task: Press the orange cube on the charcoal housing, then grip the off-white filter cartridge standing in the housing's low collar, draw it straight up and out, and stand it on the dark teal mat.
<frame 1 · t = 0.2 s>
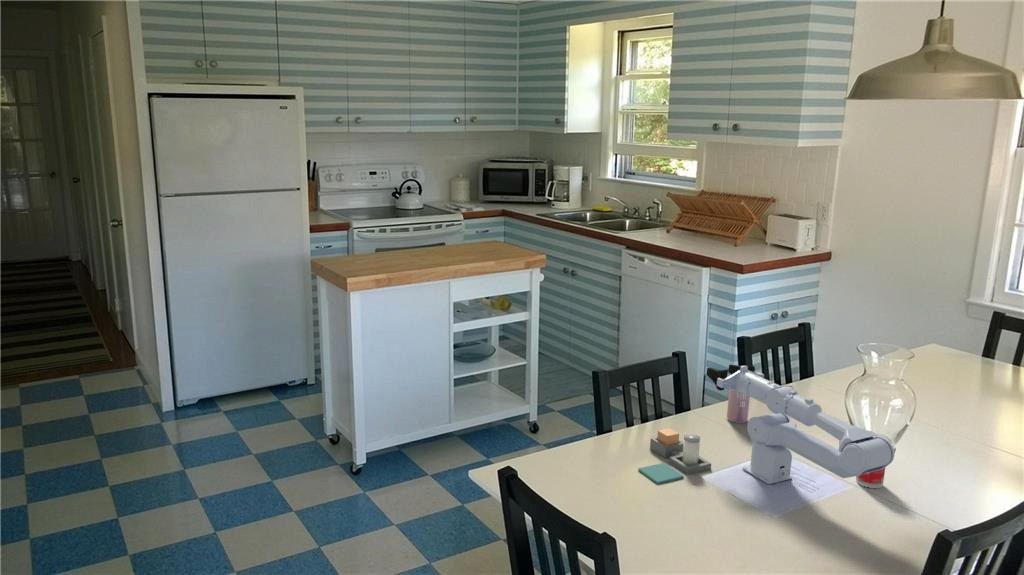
hand: (718, 369, 208), 21 cm above the table, tool horizontal, fingers open, 7 cm apart
beverage can: (736, 420, 230), on the table
housing: (689, 465, 199), on the table
cartridge: (689, 465, 199), resting in housing
pill bottle: (869, 484, 192), on the table
orange cube: (668, 438, 207), point 4 cm above the table, slide at 0.0 cm
mat: (660, 474, 194), on the table
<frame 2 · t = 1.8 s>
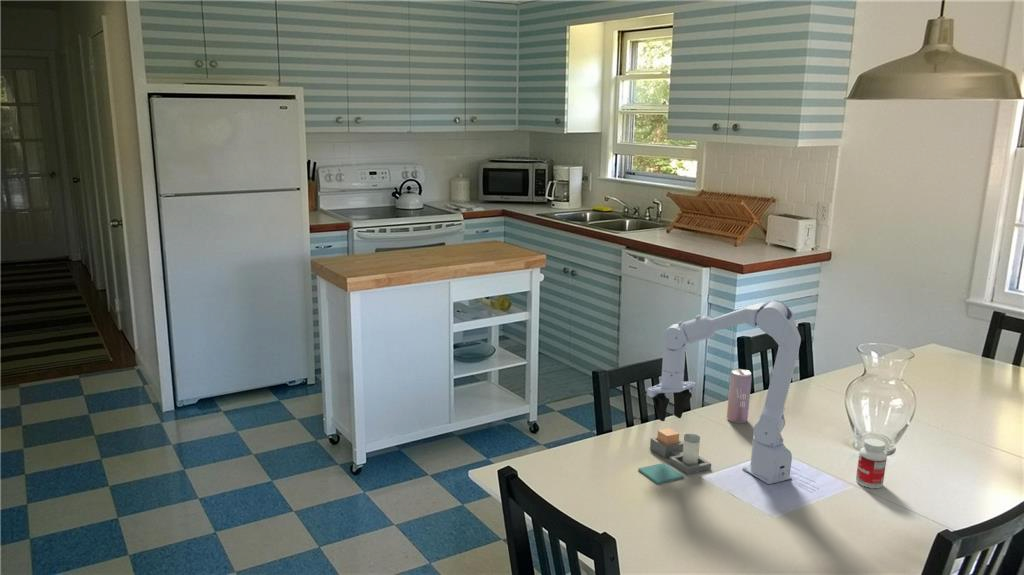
hand: (669, 418, 206), 9 cm above the table, tool pointing down, fingers open, 5 cm apart
nothing on the table moved.
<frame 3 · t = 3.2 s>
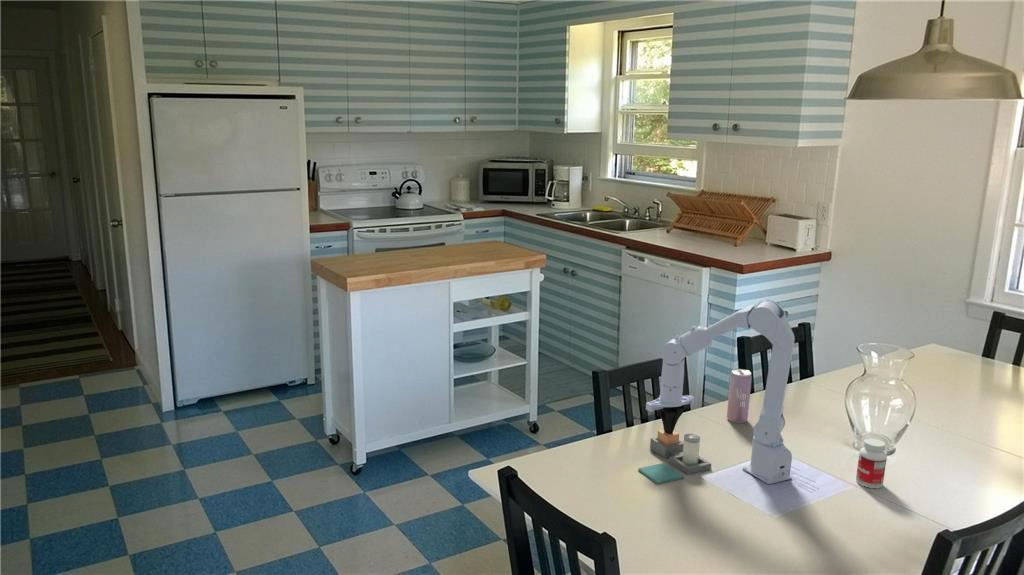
hand: (668, 432, 206), 5 cm above the table, tool pointing down, fingers closed, pressing on orange cube
orange cube: (667, 439, 207), point 3 cm above the table, slide at 0.1 cm, touching gripper
everything else where it was.
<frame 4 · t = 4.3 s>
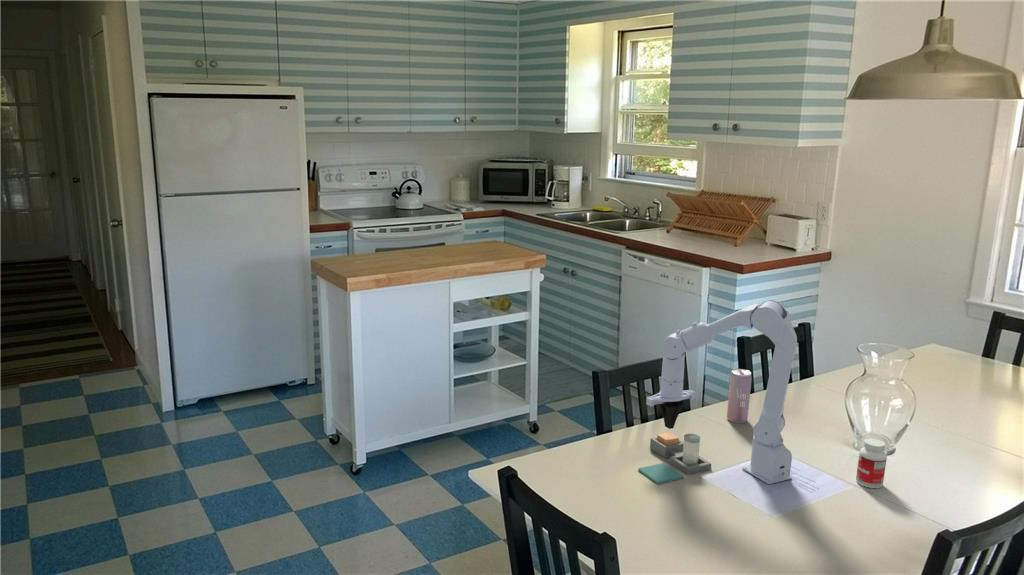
hand: (669, 427, 206), 7 cm above the table, tool pointing down, fingers closed
orange cube: (667, 443, 207), point 2 cm above the table, slide at 1.2 cm
everything else where it was.
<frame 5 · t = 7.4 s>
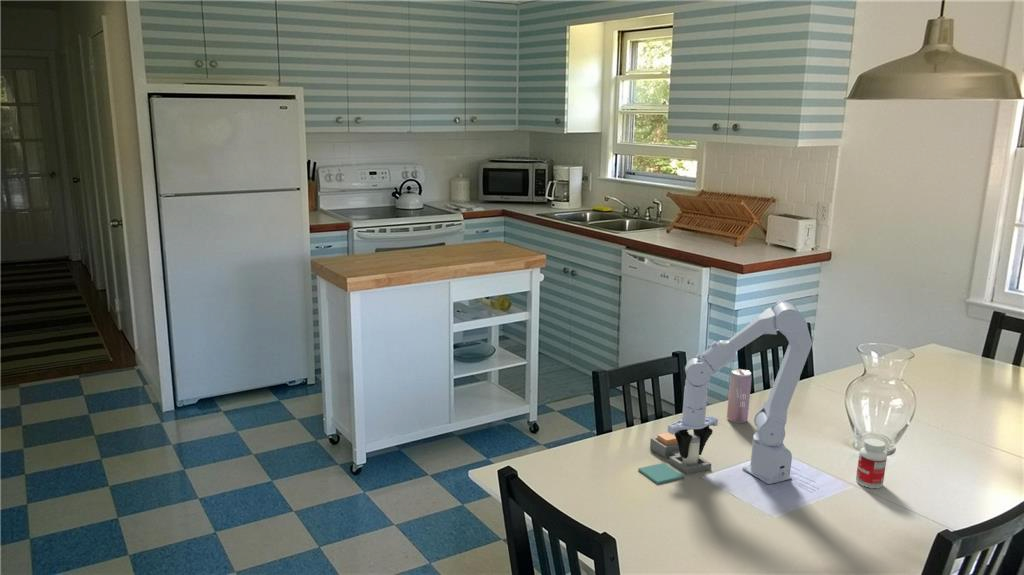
hand: (690, 455, 199), 3 cm above the table, tool pointing down, fingers closed on cartridge, 4 cm apart
cartridge: (689, 465, 199), resting in housing, touching gripper
everything else where it was.
when the fingers open (4 cm above the table, at t = 12.3 s): cartridge stays where it is, resting on mat.
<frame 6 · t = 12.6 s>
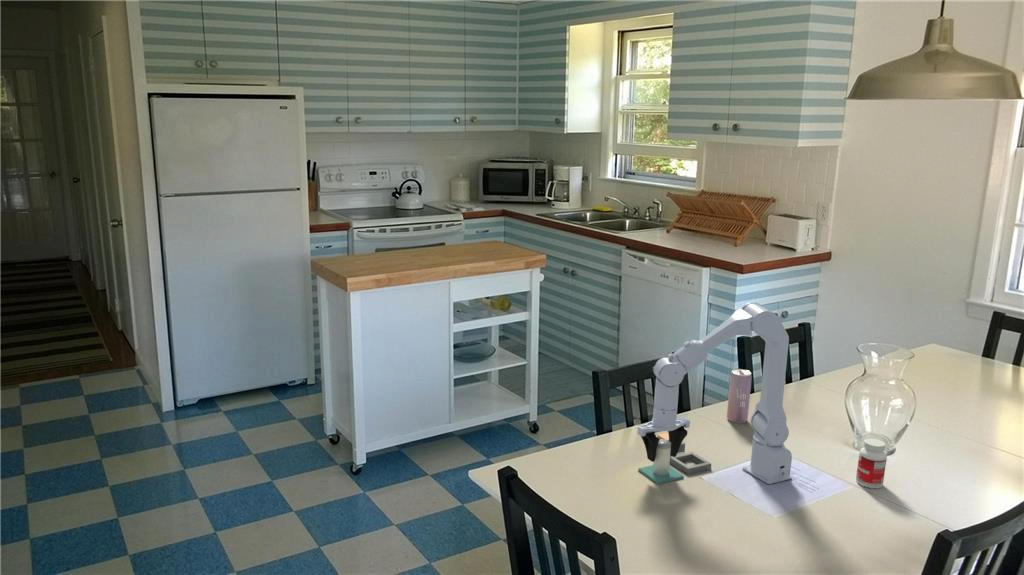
hand: (661, 457, 193), 5 cm above the table, tool pointing down, fingers open, 6 cm apart
cartridge: (660, 472, 194), point 1 cm above the table, touching mat
everything else where it was.
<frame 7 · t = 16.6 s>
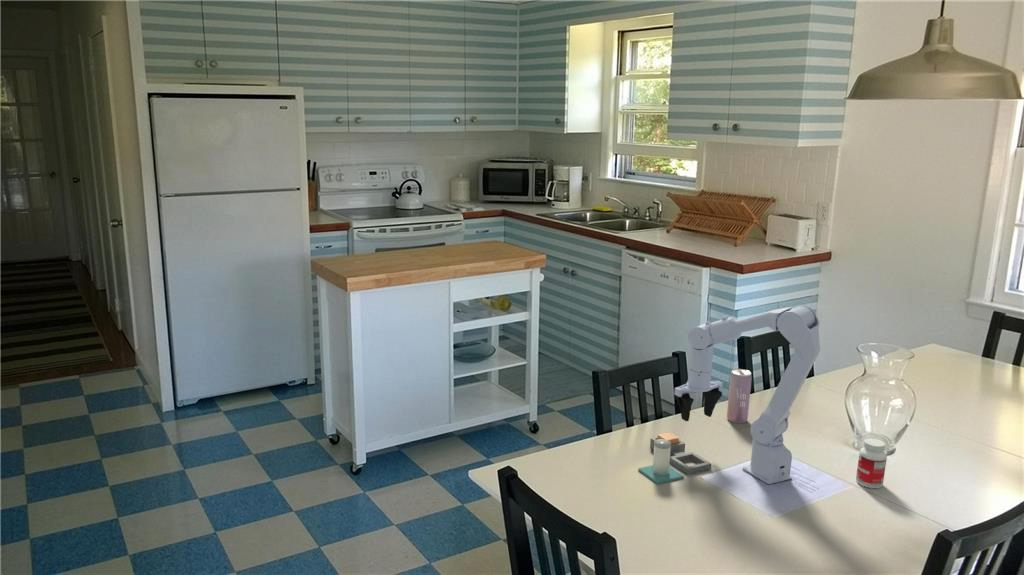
hand: (696, 417, 206), 9 cm above the table, tool pointing down, fingers open, 7 cm apart
nothing on the table moved.
at the end: orange cube slide at 1.2 cm; cartridge 0.0 cm off-centre on the mat, point 0.6 cm above the mat's base; cartridge tilted 1° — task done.
